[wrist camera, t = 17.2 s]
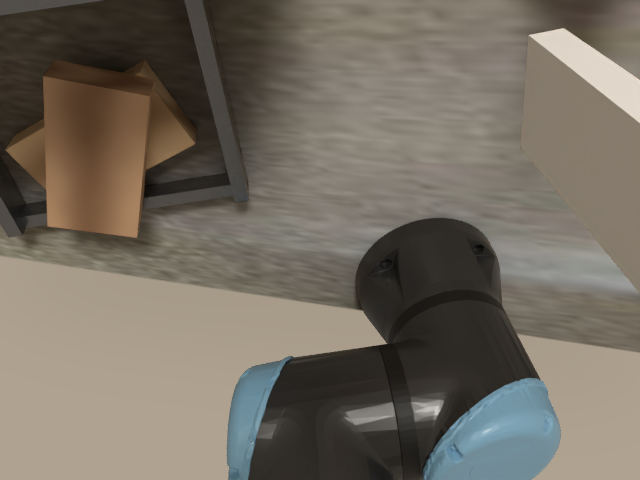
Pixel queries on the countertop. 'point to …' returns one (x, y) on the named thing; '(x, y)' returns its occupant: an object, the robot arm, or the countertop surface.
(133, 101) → the offcut upper
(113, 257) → the countertop surface
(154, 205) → the stand
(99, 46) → the countertop surface
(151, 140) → the offcut lower
